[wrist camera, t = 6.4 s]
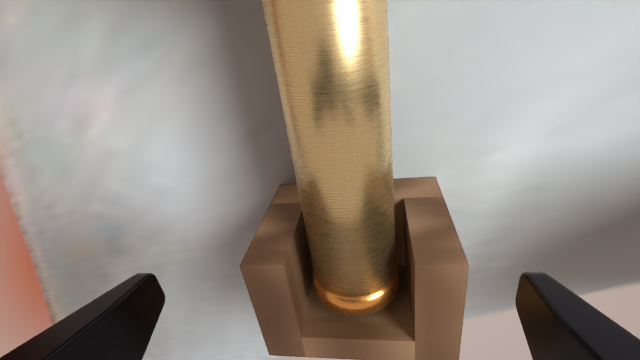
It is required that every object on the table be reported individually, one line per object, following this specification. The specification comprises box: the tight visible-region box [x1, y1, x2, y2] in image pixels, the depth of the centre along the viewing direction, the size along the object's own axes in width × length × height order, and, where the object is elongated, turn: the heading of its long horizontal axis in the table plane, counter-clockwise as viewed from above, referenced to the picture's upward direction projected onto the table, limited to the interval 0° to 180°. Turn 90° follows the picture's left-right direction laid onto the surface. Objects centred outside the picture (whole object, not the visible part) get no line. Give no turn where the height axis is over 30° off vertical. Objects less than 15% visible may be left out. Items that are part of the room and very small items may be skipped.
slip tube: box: [262, 0, 399, 316], centre depth 12 cm, size 4×20×4 cm, turn 8°
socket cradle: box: [240, 177, 469, 360], centre depth 17 cm, size 9×6×7 cm, turn 98°
